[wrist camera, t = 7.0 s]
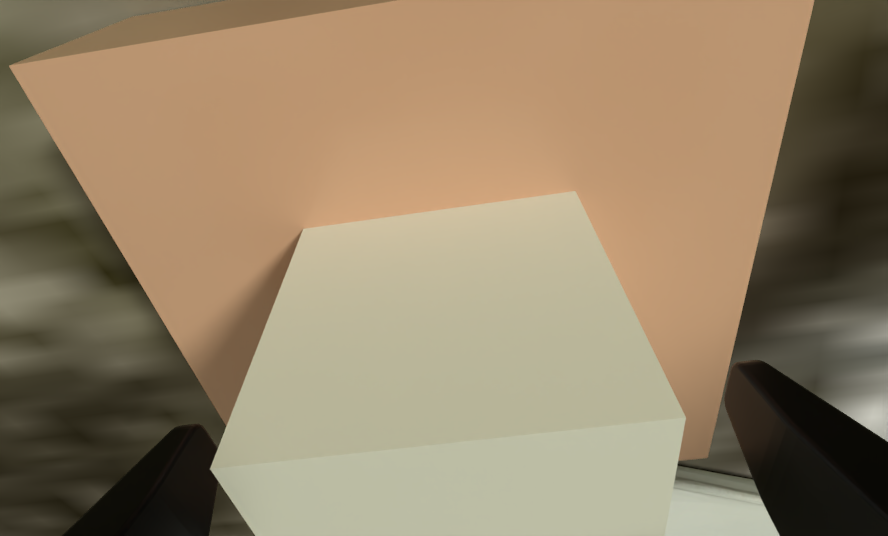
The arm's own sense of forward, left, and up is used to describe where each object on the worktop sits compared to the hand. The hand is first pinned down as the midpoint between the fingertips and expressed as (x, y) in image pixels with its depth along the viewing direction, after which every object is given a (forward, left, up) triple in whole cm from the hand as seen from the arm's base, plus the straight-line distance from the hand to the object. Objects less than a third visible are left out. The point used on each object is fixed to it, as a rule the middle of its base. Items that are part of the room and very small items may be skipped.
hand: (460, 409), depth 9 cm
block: (0, 0, -2) cm, 2 cm away
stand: (0, 0, -6) cm, 6 cm away
